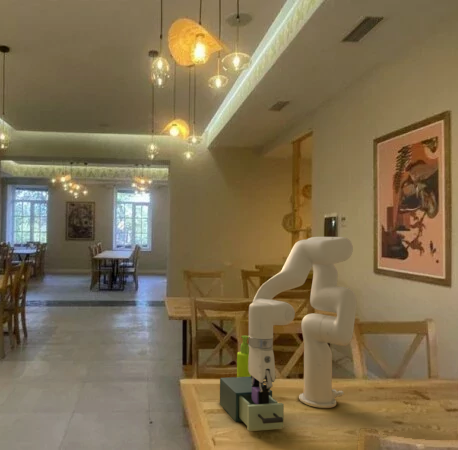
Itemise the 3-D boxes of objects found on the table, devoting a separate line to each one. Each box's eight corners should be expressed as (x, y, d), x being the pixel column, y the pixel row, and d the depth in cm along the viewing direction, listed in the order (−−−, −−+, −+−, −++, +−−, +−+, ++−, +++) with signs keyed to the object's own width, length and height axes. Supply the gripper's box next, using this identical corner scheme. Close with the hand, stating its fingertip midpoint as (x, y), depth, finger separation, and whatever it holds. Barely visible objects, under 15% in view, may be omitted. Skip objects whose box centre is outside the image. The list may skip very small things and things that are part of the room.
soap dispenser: (254, 390, 160) (255, 338, 161) (236, 388, 162) (237, 337, 162) (254, 385, 166) (254, 334, 167) (236, 383, 167) (237, 333, 168)
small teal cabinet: (272, 419, 134) (272, 391, 135) (235, 421, 132) (236, 393, 132) (252, 401, 149) (253, 376, 149) (219, 403, 146) (220, 377, 146)
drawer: (291, 435, 121) (291, 410, 122) (255, 438, 119) (255, 413, 119) (263, 410, 139) (263, 388, 139) (231, 412, 137) (231, 390, 137)
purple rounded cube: (263, 399, 132) (263, 386, 132) (269, 403, 128) (269, 390, 128) (251, 399, 131) (251, 387, 131) (256, 404, 127) (257, 391, 127)
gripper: (285, 349, 123) (284, 411, 122) (259, 335, 139) (259, 391, 138) (261, 350, 121) (260, 413, 121) (239, 336, 138) (238, 392, 137)
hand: (260, 400), depth 130 cm, fingers closed on purple rounded cube, 4 cm apart
